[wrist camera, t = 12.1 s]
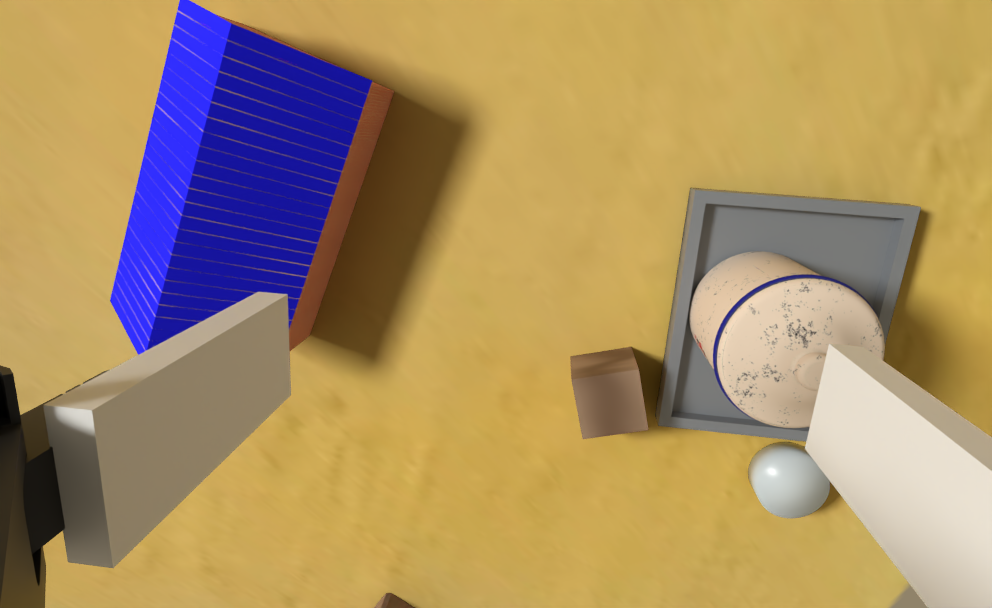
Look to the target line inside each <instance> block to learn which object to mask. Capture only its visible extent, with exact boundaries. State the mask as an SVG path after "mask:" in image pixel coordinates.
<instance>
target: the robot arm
mask: <svg viewBox="0 0 992 608" xmlns="http://www.w3.org/2000/svg"><path fill="white" fill-rule="evenodd" d="M290 395H291V381H290V351H289V321H288V294H278V293H267V292H257V293H255V294H253V295H251V296H249V297H247V298H245V299H244V300H242V301H240V302H238V303H236V304H234V305H232V306H230V307H228V308H226V309H225V310H223V311H221V312H219V313H217V314H215V315H213V316H211V317H209V318H207V319H206V320H204V321H202V322H200V323H198V324H196V325H194V326H192V327H190V328H188V329H187V330H185V331H183V332H181V333H179V334H177V335H175V336H173V337H171V338H170V339H168V340H166V341H164V342H162V343H160V344H158V345H156V346H154V347H152V348H151V349H149V350H147V351H145V352H143V353H141V354H139V355H137V356H135V357H133V358H132V359H130V360H128V361H126V362H124V363H122V364H120V365H118V366H116V367H114V368H113V369H111V370H108V371H104V372H102V373H101V374H99V375H97V376H95V377H93V378H91V379H89V380H87V381H85V382H83V384H82V385H78V386H76V387H74V388H72V389H70V390H68V391H66V393H65V394H60V395H59V396H57V397H55V398H53V399H51V400H49V401H47V402H45V403H43V404H41V405H39V406H38V407H36V408H34V409H32V410H30V411H28V412H26V413H24V414H22V415H20V411H19V406H18V400H17V394H16V388H15V382H14V376H13V373H12V371H11V369H10V368H7V367H3V366H0V608H45V583H46V563H45V558H44V552H43V545H45V544H46V543H47V542H49V541H50V540H51V539H52V538H54V537H55V536H56V535H57V534H59V533H60V532H61V531H62V530H63V533H64V540H65V546H66V552H67V559H68V562H70V563H78V564H86V565H93V566H101V567H108V568H114V567H115V566H116V565H117V564H118V563H119V562H120V561H121V560H122V559H123V558H124V557H125V556H126V555H127V554H128V553H129V552H130V551H131V550H132V549H133V548H134V547H135V546H136V545H137V544H138V543H139V542H141V541H142V540H143V539H144V538H145V537H146V536H147V535H148V534H149V533H150V532H151V531H152V530H153V529H154V528H155V527H156V526H157V525H158V524H159V523H160V522H161V521H162V520H163V519H164V518H165V517H166V516H167V515H168V514H169V513H170V512H171V511H172V510H173V509H174V508H175V507H176V506H177V505H178V504H180V503H181V502H182V501H183V500H184V499H185V498H186V497H187V496H188V495H189V494H190V493H191V492H192V491H193V490H194V489H195V488H196V487H197V486H198V485H199V484H200V483H201V482H202V481H203V480H204V479H205V478H206V477H207V476H208V475H209V474H210V473H211V472H212V471H213V470H214V469H215V468H216V467H218V466H219V465H220V464H221V463H222V462H223V461H224V460H225V459H226V458H227V457H228V456H229V455H230V454H231V453H232V452H233V451H234V450H235V449H236V448H237V447H238V446H239V445H240V444H241V443H242V442H243V441H244V440H245V439H246V438H247V437H248V436H249V435H250V434H251V433H252V432H253V431H254V430H255V429H257V428H258V427H259V426H260V425H261V424H262V423H263V422H264V421H265V420H266V419H267V418H268V417H269V416H270V415H271V414H272V413H273V412H274V411H275V410H276V409H277V408H278V407H279V406H280V405H281V404H282V403H283V402H284V401H285V400H286V399H287V398H288V397H289V396H290ZM805 450H806V451H807V452H808V453H809V455H810V456H811V457H812V459H813V460H814V461H815V462H816V464H817V465H818V466H819V468H820V469H821V470H822V472H823V473H824V474H825V475H826V477H827V478H828V479H829V481H830V482H831V483H832V484H833V486H834V487H835V488H836V490H837V491H838V492H839V493H840V495H841V496H842V497H843V499H844V500H845V501H846V503H847V504H848V505H849V506H850V508H851V509H852V510H853V512H854V513H855V514H856V515H857V517H858V518H859V519H860V521H861V522H862V523H863V524H864V526H865V527H866V528H867V530H868V531H869V532H870V534H871V535H872V536H873V537H874V539H875V540H876V541H877V543H878V544H879V545H880V546H881V548H882V549H883V550H884V552H885V553H886V554H887V555H888V557H889V558H890V559H891V561H892V562H893V563H894V565H895V566H896V567H897V568H898V570H899V571H900V572H901V574H902V575H903V576H904V577H905V579H906V580H907V581H908V583H909V584H910V585H911V586H912V588H913V589H914V590H915V591H916V593H917V594H918V596H919V597H920V598H921V599H922V601H923V602H924V603H925V604H926V606H927V607H928V608H992V437H990V436H989V435H987V434H986V433H985V432H983V431H982V430H980V429H979V428H978V427H976V426H975V425H973V424H972V423H970V422H969V421H968V420H966V419H965V418H963V417H962V416H961V415H959V414H958V413H956V412H955V411H953V410H952V409H951V408H949V407H948V406H946V405H945V404H944V403H942V402H941V401H939V400H938V399H936V398H935V397H934V396H932V395H931V394H929V393H928V392H927V391H925V390H924V389H922V388H921V387H919V386H918V385H917V384H915V383H914V382H912V381H911V380H910V379H908V378H907V377H905V376H904V375H902V374H901V373H900V372H898V371H897V370H895V369H894V368H893V367H891V366H890V365H888V364H887V363H885V362H884V361H883V360H881V359H880V358H878V357H877V356H876V355H874V354H873V353H871V352H870V351H869V350H867V349H866V348H864V347H861V346H850V345H839V344H829V346H828V350H827V355H826V359H825V363H824V368H823V372H822V376H821V381H820V385H819V389H818V394H817V398H816V402H815V407H814V411H813V415H812V420H811V424H810V428H809V433H808V437H807V441H806V446H805Z"/></svg>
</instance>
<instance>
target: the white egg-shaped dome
mask: <svg viewBox="0 0 992 608" xmlns="http://www.w3.org/2000/svg"><path fill="white" fill-rule="evenodd" d="M748 478H749V481H750V484H751V486H752V487H753V489H754V491H755V493H756V495H757V497H758V498H759V500H760V502H761V504H762V505H763V507H764V508H765V509H766V510H768V511H769V512H771V513H772V514H774V515H776V516H779V517H783V518H799V517H803V516H806V515H809V514H811V513H813V512H815V511H816V510H817V509H819V508H820V507H821V506H822V505H823V504H824V502H825V501H826V499H827V497H828V494H829V490H830V481H829V479H828V478H827V477H826V475H825V474H824V473H823V472H822V470H821V469H820V468H819V466H818V465H817V464H816V462H815V461H814V460H813V459H812V457H811V456H810V455H809V453H808V452H807V451H806V450H805V447H803V446H801V445H799V444H796V443H792V442H778V443H773V444H770V445H768V446H766V447H764V448H762V449H761V450H760V451H758V452H757V453H756V454H755V456H754V457H753V458H752V460H751V462H750V464H749V468H748Z"/></svg>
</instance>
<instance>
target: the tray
mask: <svg viewBox="0 0 992 608" xmlns="http://www.w3.org/2000/svg"><path fill="white" fill-rule="evenodd" d="M920 209H921V207H918V206H914V205H909V204H898V203H885V202H871V201H858V200H845V199H832V198H818V197H805V196H792V195H778V194H765V193H752V192H738V191H725V190H712V189H699V188H690V193H689V199H688V206H687V212H686V219H685V225H684V232H683V238H682V245H681V251H680V258H679V264H678V270H677V277H676V283H675V290H674V296H673V303H672V309H671V316H670V322H669V329H668V335H667V342H666V348H665V355H664V361H663V368H662V374H661V381H660V387H659V394H658V400H657V407H656V413H655V417H656V420H657V423H658V426H666V427H675V428H684V429H694V430H703V431H713V432H722V433H731V434H741V435H750V436H759V437H769V438H778V439H787V440H797V441H807V437H808V433H809V428H810V427H804V428H783V427H777V426H772V425H768V424H765V423H762V422H760V421H757V420H755V419H753V418H751V417H749V416H747V415H745V414H744V413H743V412H741V411H740V410H738V409H737V408H736V407H735V406H734V405H733V404H732V403H731V402H730V401H729V400H728V399H727V397H726V396H725V395H724V393H723V391H722V390H721V388H720V386H719V384H718V382H717V379H716V376H715V372H714V370H713V368H712V366H711V365H710V363H709V362H708V360H707V359H706V357H705V356H704V354H703V353H702V351H701V349H700V348H699V346H698V345H697V343H696V341H695V339H694V337H693V335H692V332H691V328H690V322H689V310H690V304H691V300H692V296H693V294H694V292H695V290H696V288H697V286H698V284H699V283H700V281H701V280H702V279H703V277H704V276H705V275H706V274H707V273H708V272H709V271H710V270H711V269H712V268H714V267H715V266H716V265H718V264H719V263H721V262H722V261H724V260H726V259H728V258H730V257H732V256H735V255H738V254H742V253H747V252H755V251H764V252H772V253H777V254H780V255H783V256H785V257H788V258H790V259H792V260H793V261H795V262H797V263H799V264H801V265H803V266H804V267H806V268H808V269H810V270H812V271H813V272H815V273H817V274H819V275H821V276H825V277H829V278H833V279H836V280H838V281H841V282H843V283H845V284H847V285H848V286H850V287H852V288H853V289H855V290H856V291H858V292H859V293H860V294H861V295H862V296H863V297H864V298H865V299H866V300H867V301H868V302H869V303H870V305H871V306H872V308H873V309H874V311H875V313H876V314H877V316H878V319H879V321H880V324H881V327H882V330H883V335H884V344H885V343H886V339H887V335H888V331H889V328H890V324H891V320H892V316H893V312H894V309H895V305H896V301H897V297H898V293H899V289H900V286H901V282H902V278H903V274H904V270H905V266H906V263H907V259H908V255H909V251H910V247H911V243H912V240H913V236H914V232H915V228H916V224H917V221H918V217H919V213H920Z"/></svg>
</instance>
